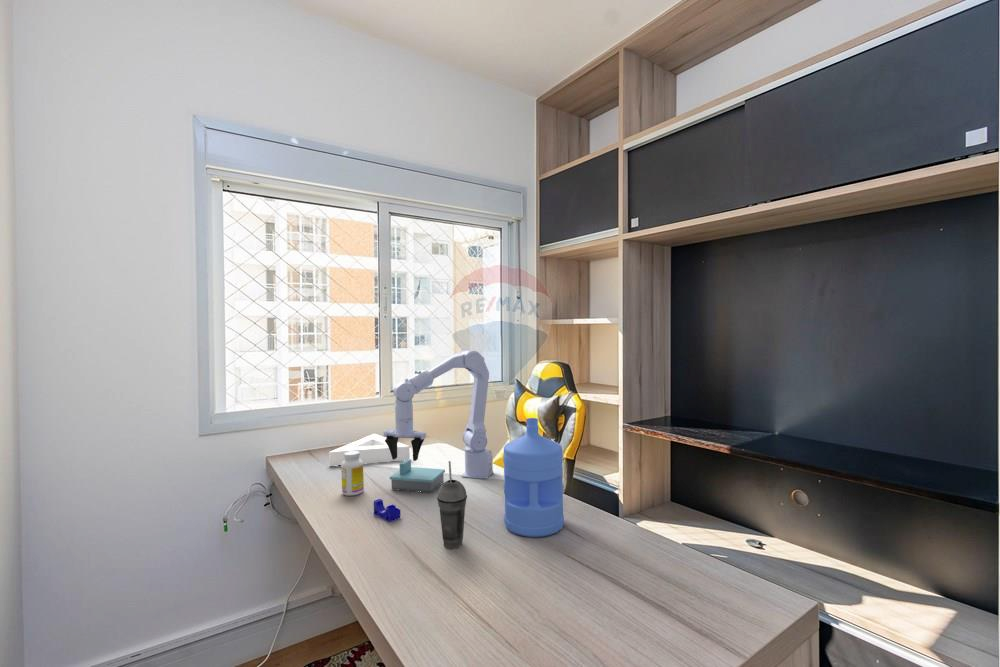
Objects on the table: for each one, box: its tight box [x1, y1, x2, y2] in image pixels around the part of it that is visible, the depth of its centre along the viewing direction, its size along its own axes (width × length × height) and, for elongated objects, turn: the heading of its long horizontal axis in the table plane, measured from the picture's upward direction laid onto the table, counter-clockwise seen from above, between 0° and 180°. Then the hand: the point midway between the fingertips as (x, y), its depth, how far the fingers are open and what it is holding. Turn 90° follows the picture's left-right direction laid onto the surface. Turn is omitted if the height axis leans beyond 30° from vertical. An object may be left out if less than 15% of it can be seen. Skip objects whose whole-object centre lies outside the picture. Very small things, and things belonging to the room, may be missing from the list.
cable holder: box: [373, 498, 401, 523], centre depth 128 cm, size 8×4×4 cm, turn 46°
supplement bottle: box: [340, 451, 365, 497], centre depth 146 cm, size 7×7×13 cm
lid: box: [389, 459, 446, 483], centre depth 151 cm, size 15×11×5 cm
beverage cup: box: [436, 460, 468, 549], centre depth 110 cm, size 7×7×20 cm
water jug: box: [502, 417, 565, 538], centre depth 120 cm, size 16×16×28 cm
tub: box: [390, 473, 445, 494], centre depth 151 cm, size 14×10×4 cm
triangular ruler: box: [328, 433, 411, 466], centre depth 189 cm, size 30×26×6 cm
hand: (405, 459), depth 152 cm, fingers open, 7 cm apart
